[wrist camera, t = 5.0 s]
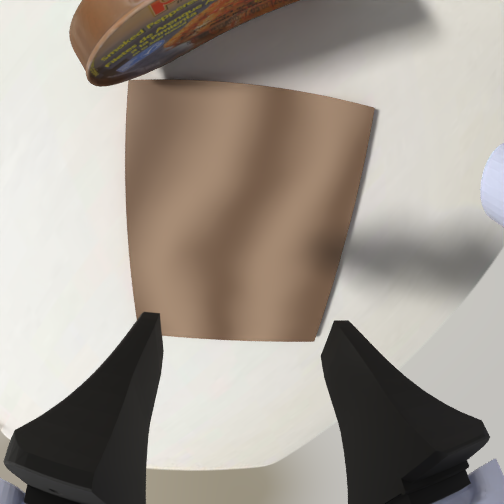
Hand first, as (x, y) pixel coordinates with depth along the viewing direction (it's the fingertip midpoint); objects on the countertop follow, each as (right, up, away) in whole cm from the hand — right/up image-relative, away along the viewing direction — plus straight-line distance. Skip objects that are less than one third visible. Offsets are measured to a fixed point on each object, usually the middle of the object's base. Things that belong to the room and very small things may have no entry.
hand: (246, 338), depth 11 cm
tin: (-1, +17, +2) cm, 17 cm away
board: (-1, +5, +8) cm, 9 cm away
